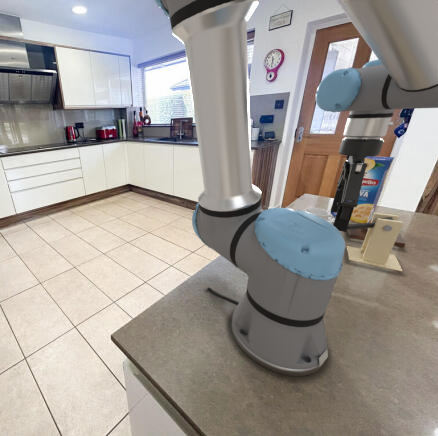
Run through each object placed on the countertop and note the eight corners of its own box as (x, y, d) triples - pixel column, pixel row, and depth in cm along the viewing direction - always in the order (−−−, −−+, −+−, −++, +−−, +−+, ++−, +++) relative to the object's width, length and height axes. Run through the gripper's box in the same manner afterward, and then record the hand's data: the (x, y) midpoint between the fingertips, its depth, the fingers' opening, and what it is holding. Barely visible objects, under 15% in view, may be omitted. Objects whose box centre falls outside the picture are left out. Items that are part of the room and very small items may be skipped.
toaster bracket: (348, 263, 62) (363, 219, 57) (345, 249, 68) (359, 208, 63) (400, 274, 57) (422, 227, 52) (393, 258, 63) (412, 215, 58)
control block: (348, 240, 72) (352, 229, 71) (346, 229, 79) (349, 218, 77) (402, 250, 66) (408, 238, 64) (395, 237, 73) (400, 225, 71)
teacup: (301, 228, 81) (304, 215, 80) (295, 216, 90) (297, 205, 88) (335, 230, 78) (339, 218, 76) (325, 219, 87) (328, 207, 85)
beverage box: (335, 210, 93) (352, 154, 84) (372, 218, 85) (394, 157, 76) (329, 215, 90) (345, 157, 81) (366, 224, 81) (389, 160, 73)
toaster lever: (332, 237, 63) (330, 228, 62) (331, 228, 67) (330, 220, 67) (397, 232, 55) (395, 223, 55) (391, 223, 60) (390, 214, 59)
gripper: (398, 143, 43) (361, 243, 52) (375, 133, 62) (350, 208, 70) (347, 143, 47) (320, 235, 56) (339, 133, 66) (320, 204, 74)
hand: (337, 220), depth 63 cm, fingers open, 13 cm apart
